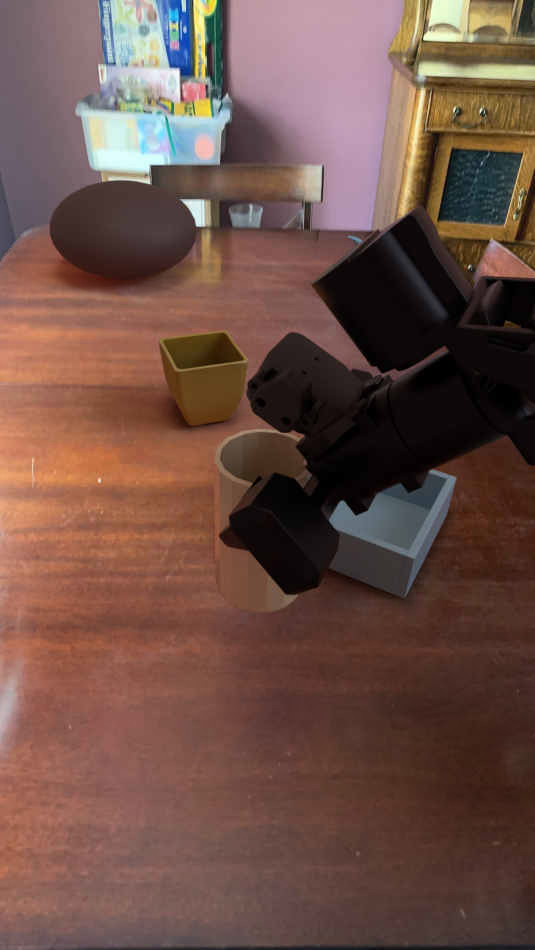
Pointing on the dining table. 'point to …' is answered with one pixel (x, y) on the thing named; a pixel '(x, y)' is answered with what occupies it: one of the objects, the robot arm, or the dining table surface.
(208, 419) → the flower pot
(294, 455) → the tumbler
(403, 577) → the tub
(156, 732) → the dining table surface
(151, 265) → the smooth stone
